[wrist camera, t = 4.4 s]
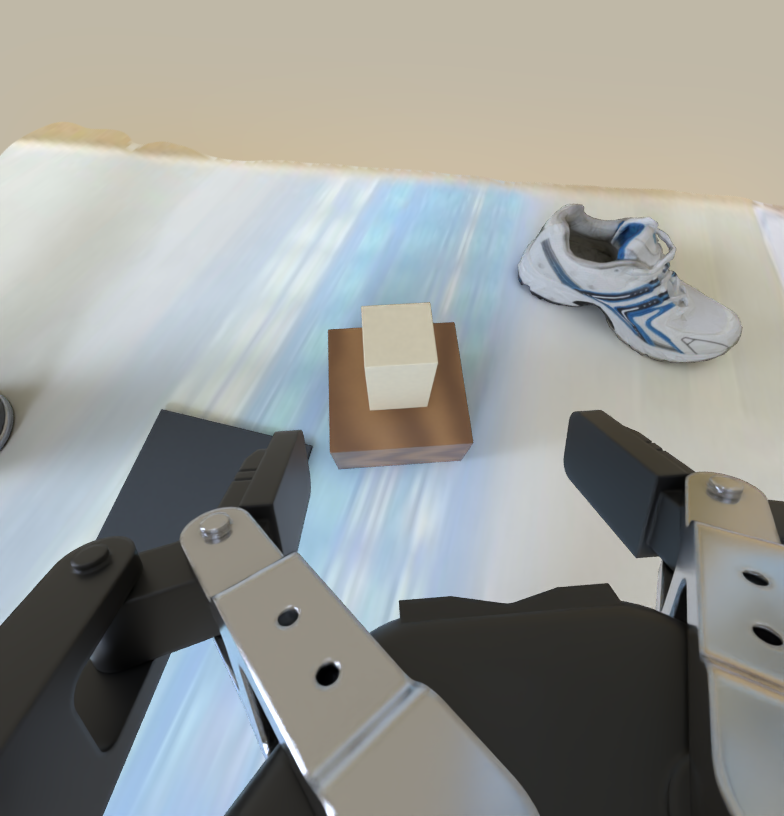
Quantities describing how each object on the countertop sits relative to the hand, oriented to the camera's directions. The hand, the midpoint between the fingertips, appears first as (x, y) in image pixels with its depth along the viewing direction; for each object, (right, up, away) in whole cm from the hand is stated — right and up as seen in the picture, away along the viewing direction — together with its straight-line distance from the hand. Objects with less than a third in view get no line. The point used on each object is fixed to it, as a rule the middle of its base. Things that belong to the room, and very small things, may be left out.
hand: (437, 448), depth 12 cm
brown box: (-1, +1, +28) cm, 28 cm away
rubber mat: (-19, -7, +25) cm, 32 cm away
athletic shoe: (+24, +13, +33) cm, 43 cm away
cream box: (-1, +3, +23) cm, 23 cm away
